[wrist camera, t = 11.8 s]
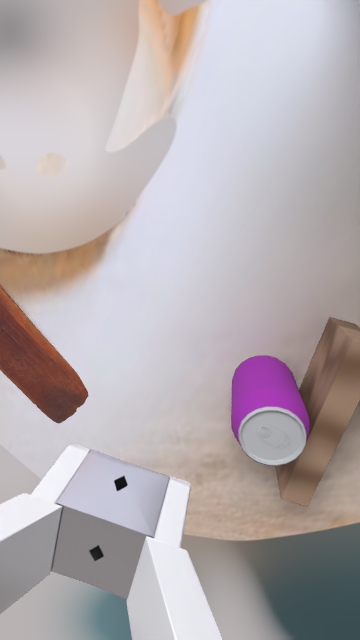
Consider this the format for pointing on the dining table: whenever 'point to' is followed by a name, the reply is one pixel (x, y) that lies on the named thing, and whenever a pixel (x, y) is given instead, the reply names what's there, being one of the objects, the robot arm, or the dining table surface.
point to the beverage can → (268, 411)
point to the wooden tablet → (37, 364)
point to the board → (324, 408)
